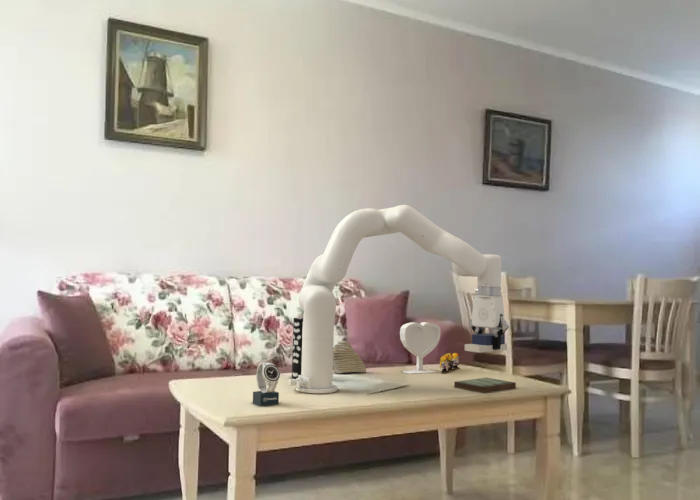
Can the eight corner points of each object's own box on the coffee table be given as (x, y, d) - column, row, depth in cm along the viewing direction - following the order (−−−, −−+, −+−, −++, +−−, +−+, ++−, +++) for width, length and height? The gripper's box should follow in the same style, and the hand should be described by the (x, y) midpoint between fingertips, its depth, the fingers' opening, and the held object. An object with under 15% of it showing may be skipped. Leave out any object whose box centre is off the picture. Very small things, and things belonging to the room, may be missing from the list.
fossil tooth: (367, 376, 241) (328, 374, 235) (360, 373, 247) (322, 370, 241) (371, 344, 241) (332, 341, 235) (364, 342, 247) (326, 338, 241)
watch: (263, 407, 177) (265, 365, 178) (249, 402, 184) (250, 361, 184) (282, 405, 181) (283, 364, 181) (267, 400, 187) (269, 360, 188)
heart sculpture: (404, 373, 242) (406, 323, 243) (397, 371, 246) (398, 322, 247) (441, 371, 249) (442, 322, 250) (433, 369, 253) (434, 321, 254)
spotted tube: (315, 380, 222) (317, 319, 223) (290, 379, 222) (292, 319, 223) (317, 376, 231) (319, 317, 231) (293, 375, 231) (294, 317, 231)
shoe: (492, 348, 224) (492, 333, 224) (507, 350, 220) (507, 334, 220) (464, 350, 215) (464, 334, 215) (479, 352, 211) (479, 336, 211)
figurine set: (436, 372, 246) (436, 354, 246) (452, 367, 260) (452, 350, 261) (445, 373, 245) (445, 355, 245) (461, 368, 259) (461, 351, 259)
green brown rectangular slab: (484, 393, 207) (484, 386, 207) (454, 387, 217) (454, 380, 217) (515, 388, 218) (515, 381, 218) (486, 382, 227) (486, 376, 227)
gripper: (460, 291, 223) (459, 346, 222) (503, 293, 210) (502, 351, 209) (475, 291, 228) (474, 345, 227) (518, 293, 214) (517, 350, 214)
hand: (488, 347), depth 218 cm, fingers closed on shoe, 6 cm apart
